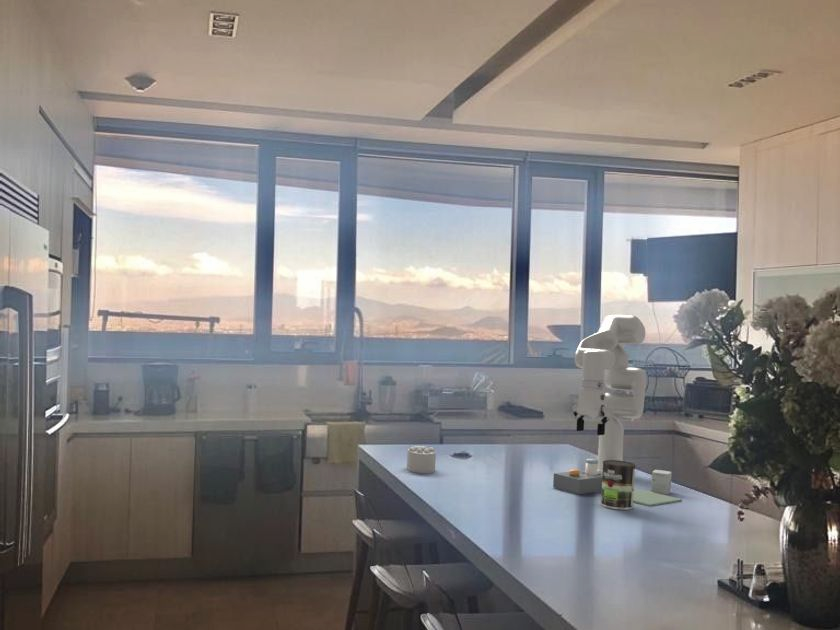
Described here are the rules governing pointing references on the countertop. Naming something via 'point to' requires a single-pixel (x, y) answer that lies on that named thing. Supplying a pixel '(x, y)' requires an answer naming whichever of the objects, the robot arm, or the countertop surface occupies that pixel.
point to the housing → (578, 482)
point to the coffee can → (618, 484)
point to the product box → (661, 481)
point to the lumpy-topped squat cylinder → (421, 459)
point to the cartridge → (591, 467)
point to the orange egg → (574, 472)
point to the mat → (652, 498)
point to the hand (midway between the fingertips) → (590, 432)
